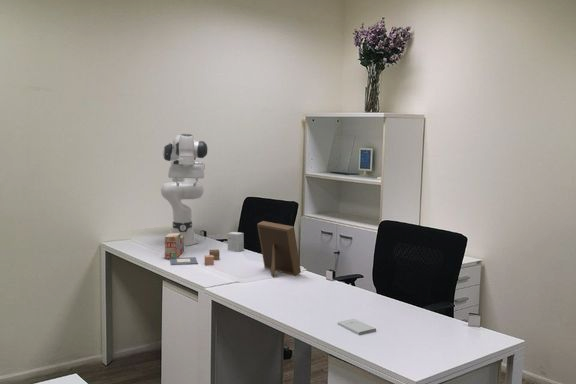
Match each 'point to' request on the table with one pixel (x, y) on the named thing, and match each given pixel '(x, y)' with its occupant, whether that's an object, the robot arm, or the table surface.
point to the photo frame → (279, 248)
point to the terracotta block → (209, 260)
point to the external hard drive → (356, 326)
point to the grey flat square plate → (183, 261)
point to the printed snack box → (174, 245)
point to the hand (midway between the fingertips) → (186, 186)
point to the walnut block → (215, 254)
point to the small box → (235, 241)
